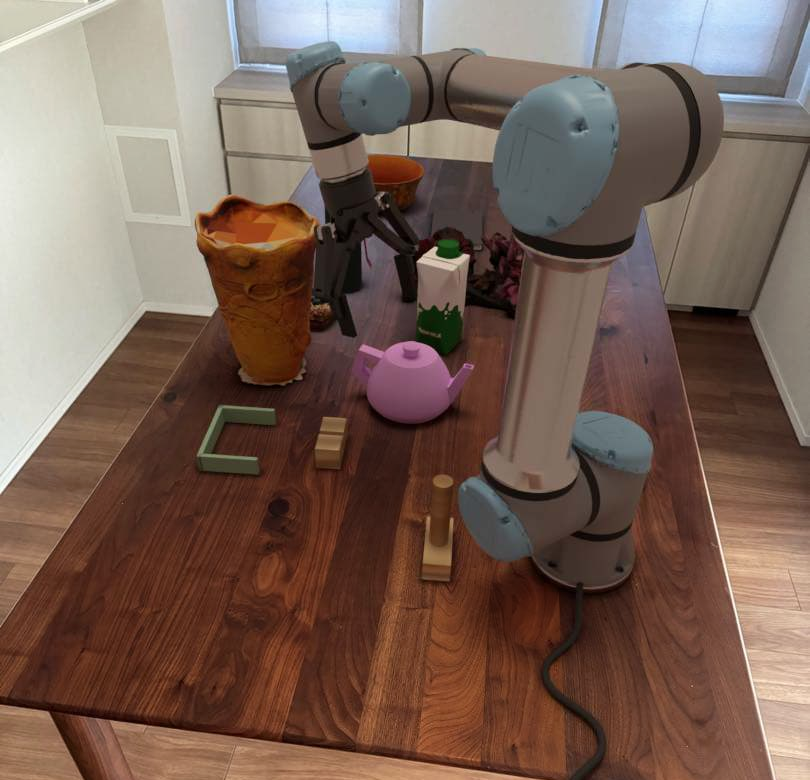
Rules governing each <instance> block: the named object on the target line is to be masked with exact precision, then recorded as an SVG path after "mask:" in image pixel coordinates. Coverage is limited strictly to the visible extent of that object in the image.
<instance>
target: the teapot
mask: <svg viewBox="0 0 810 780" xmlns="http://www.w3.org/2000/svg"><path fill="white" fill-rule="evenodd" d="M368 360H369V361H372V362H373V363H375V364H374V366H373V368H372V370H371V369H370V368H369V367H368V366H367V363H368ZM474 369H475V365H474V364H469V363H464V364H463V366H462V367H461V368H460V369H459V371H458V372H457V373H456V374H455V376H454V377H451V375H450V372H449V369H448V368H447V365H446V364H445V362H444V360H443V358H442V357H441V356H440V354H438V353H437V352H436V351H435V350H434V349H433V348H431V347H430V346H428V345H425V344H422V343H418V342H415V340H410V341H404V342H403V341H401V342H398V343H395V344H393V345H391V346H390V347H388V348H386V350H384V351H383V350H380V349H377V348H374V347H372V346H369V345H367V344H363V343H362V345H361V346H360V347H359V349H358V351H357V353H356V356H355V359H354V362H353V364H352V367H351V370H350V374H351V375H352V376H353V377H354V378H355V379H356V380H357V381H358V382H359V383H360V384H361V385H362V386H363V387H364V388H365V389H366V397H367V400H368V402H369V404H370V406H371V407H372V408H373V409H374V410H375V411H376V412H377V413H379V414H380V415H381V416H382V417H383V418H385V419H387V420H389V421H392V422H396V423H400V424H410V425H412V424H423V423H426V422H429V421H432V420H434V419H436V418H437V417H439V416H441V415H442V414H443V413H444V412H445V411H446V410H447V409H448V408H449V406H450V405H451V404H453V403H454V401H455V399H456V398H457V396H458V394H459V393H460V391H461V390H462V388H463V386H464V385H465V384H466V382H467V380H468V378H469V377H470V375H471V373H472V372H473V370H474Z"/></svg>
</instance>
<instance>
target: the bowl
mask: <svg viewBox="0 0 810 780" xmlns="http://www.w3.org/2000/svg"><path fill="white" fill-rule="evenodd" d="M367 157H368V161H369V163H368V165H367V166H366V167H367V168H369V169H370V170H371V174H372V178H373V182H374V186H375V190H376V193H377V192H378V191H379V192H391V193H392V195H393V199H394V202H395V205H396V207H397V208H398V209H399V211H402V210H405V209H406V208H408V207H410V206H411V205H412V204H413V203H414V201H415V198H416V193H417V191H418V187H419V185H420V182H421V181H422V179H423V178H424V176H425V171H426V170H425V168H424V166H422V165H421V164H420V163H419V162H417V161H414V160H413V159H410V158H407V157H404V156H399V155H391V154H390V155H389V154H379V153H377V154H367ZM375 195H376V194H375ZM374 198H375V196H374ZM378 213H382V212H381V211H380V210H378Z"/></svg>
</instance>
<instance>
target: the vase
mask: <svg viewBox="0 0 810 780" xmlns="http://www.w3.org/2000/svg"><path fill="white" fill-rule="evenodd" d="M315 225H321V224H320V221H319V220H318V219H317V218H316V217H315V216H314V215H311V214H310V213H308V211H306V209H305V207H304V206H302V205H299V204H297V203H295V202H293V201H287V200H285V201H279V202H273V203H268V204H264V203H259V202H255V201H253V200H251V199H248V198H246V197H244V196H241V195H236V194H228V195H226V196H225V197H223V198H221V199H220V200H219V201H218V202H217V203H216V205H215V206H214V207H213V208H212V209H211V210H210V211H209V212H202V211H200V212H197V213H196V215H195V218H194V228H195V232H196V235H197V236H196V247H197V250H198V251H199V253H200V254H201V255H202V256H203V261H204V263H205V266H206V268H207V270H208V274H209V277H210V281H211V287H212V289H213V292H214V294H215V298H216V302H217V305H218V310H219V312H220V314H221V317H222V320H223V322H224V325H225V328H226V332H227V336H228V338H229V340H230V342H231V345H232V348H233V350H234V352H235V355H236V358H237V360H238V362H239V364H240V365H241V368H239V370H238V372H237V375H238V376H240V377H239V378H240V379H241V381H242V382H244V383H247V384H253V385H261V386H273V385H280V386H283V387H285V385H287V384H290V383H291V384H292V383H293V380H294V381H301V380H303V376H302V374H304V373H306V372H307V370H306V369H305V367H306V365H307V360H306V358H305V355H306V351H307V349H308V348H309V346H310V345H311V344H312V340H313V339H312V335H311V331H310V309H311V297H312V287H313V286H314V273H315V255H316V239H315V234H314V227H315Z"/></svg>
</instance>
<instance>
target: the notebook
mask: <svg viewBox="0 0 810 780" xmlns="http://www.w3.org/2000/svg"><path fill="white" fill-rule="evenodd" d="M432 211H433V214H432V221H431V231H430V237H432V235H434V233H435V232H436V231H438V229H439V230H441V229H443V228H445V227H446V226H448V227H452V228H455V229H456V230H458V231H461V232H462V233H463V235H464V237H465V239H469V238H470V239H471V241H472V244H471V249H472V250H473V252H474V251H475V252H479V251H480V252H481V251H482V250H483V245H484V243H483V241H482V240H481V236H483V211H481V210H469V209H467V210H466V209H451V208H449V209H448V208H446V209H445V208H433V210H432Z"/></svg>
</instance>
